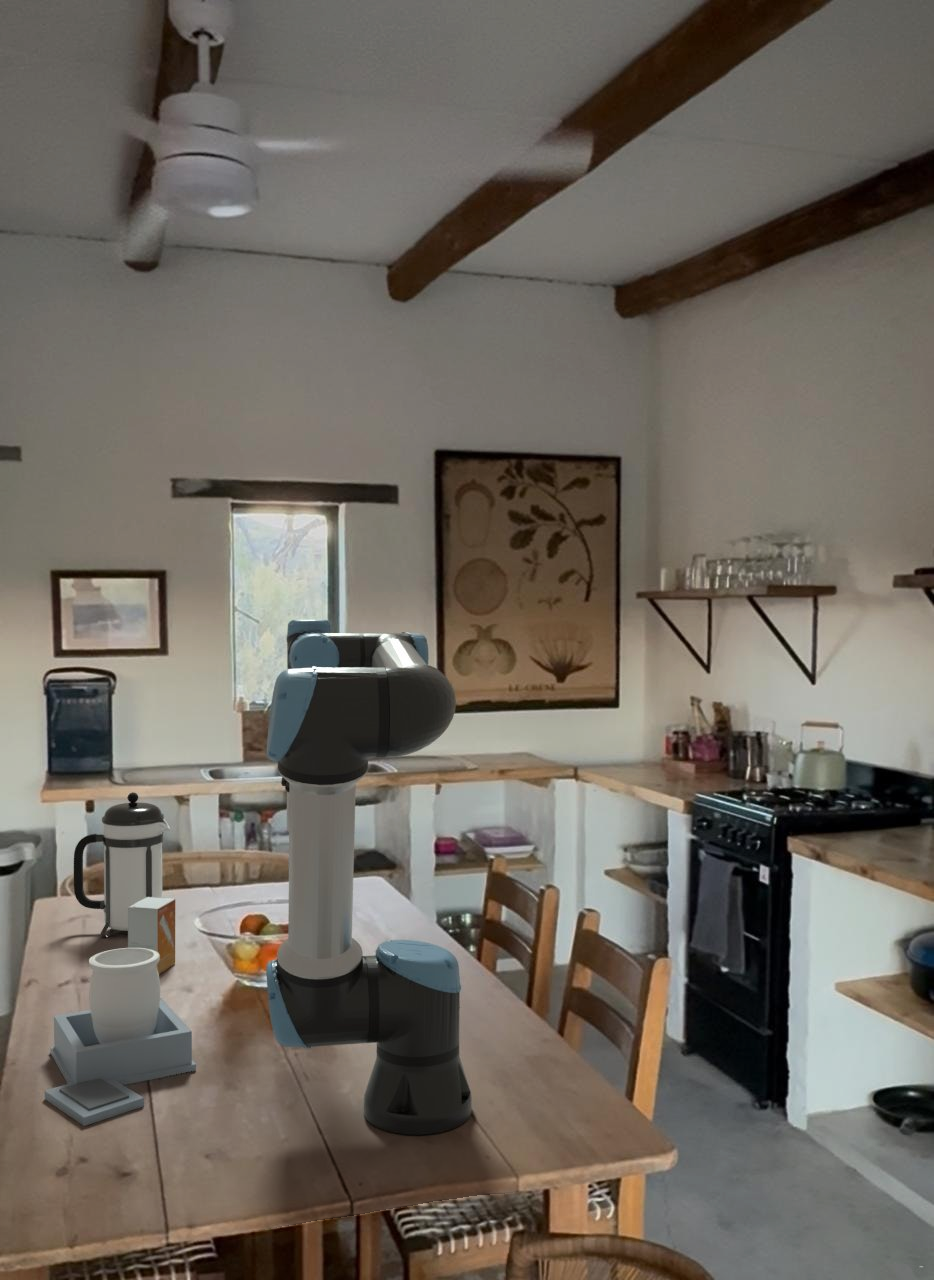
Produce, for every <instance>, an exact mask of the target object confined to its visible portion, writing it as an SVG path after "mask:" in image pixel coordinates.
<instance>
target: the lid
mask: <svg viewBox="0 0 934 1280" xmlns="http://www.w3.org/2000/svg"><path fill="white" fill-rule="evenodd" d="M44 1100H45V1101H47V1102H48V1103H50V1104H51V1105H53V1106H54V1107H56V1108H57V1109H58V1110H60V1111H62V1112H63V1113H64V1114H66V1115H68V1117H70V1118H72V1119H73V1120H75V1121H76V1122H77V1123H79V1124H80V1125H82V1126H83V1127H86V1126H88V1125H91V1124H95V1123H97V1122H101V1121H104V1120H107V1119H109V1118H113V1117H116V1116H119V1115H122V1114H125V1113H128V1112H130V1111H134V1110H136V1109H140V1108H142V1107H145V1098H144V1096H141V1094H138V1093H137V1092H135V1091H133V1090H132V1089H130V1088H128V1087H127V1086H126V1085H122V1084H120V1083H118V1082H117V1081H115V1080H113V1079H112V1078H110V1079H105V1080H103V1079H101V1078H99V1079H94V1080H89V1081H84V1082H80V1083H77V1084H76V1083H75V1082H72V1083H69V1084H67V1083H66V1084H62V1085H60V1086H57V1087H53V1088H50V1089H46V1090H44Z"/></svg>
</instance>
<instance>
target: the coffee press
mask: <svg viewBox="0 0 934 1280" xmlns="http://www.w3.org/2000/svg"><path fill="white" fill-rule="evenodd" d="M127 801H128V802H124V803H119V804H115V805H112V806H110V807H109V808H107V809H106V811H105V813H104V816H102V817H101V822H102V825H103V834H97V833H90V834H87V835H86V836H84V837H82V838H80V839H79V841H78V843H77V844H76V846H75V849H74V851H73V852H74V853H73V891H74V896H75V899H76V900H77V901H78V903H79V904H80V905H81V906H82V907H84V908H88V909H93V910H102V911H103V912H104V923H105V924H104V926H103V928H102V930H101V932H100V935H101V937H102V936H103V937H102V938H105V935H107V936H110V937H111V935H113V933H114V932H116V931H122V932H123V931H124V932H125V931H126V932H128V907H130V906H132V905H133V904H135V903H136V902H138V901H141V900H143V899H144V898H146V897H156V898H163V842H164V832H163V831H166V830H167V831H169V830H170V829H171V827H170V825H169V824H168V822H167V821H166V819H165V818H164V817H165V816H164V814H163V813H162V811H161V809H160V807H159V806H157V805H156V804H152V803H149V802H148V803H147V802H137V801H139V794H138V793H136V792H131V793H129V794H128V796H127ZM93 843H102V844H103V882H104V883H103V885H104V886H103V891H104V893H103V894H104V895H103V897H104V898H103V900H95V899H94V900H93V899H90V898H88V897H87V896H86V894H85V891H84V851H85V849H86V847H87V845H89V844H93ZM109 928H110V930H109V931H108V929H109ZM107 931H108V932H107Z"/></svg>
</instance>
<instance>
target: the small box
mask: <svg viewBox="0 0 934 1280" xmlns="http://www.w3.org/2000/svg"><path fill="white" fill-rule="evenodd" d="M127 948H146V949H151V950H155V951H157V952H158V953H159V956H160V960H159V962H158V964H157V965H156V967H157V970H158V974H159V975H161V974H162V973H163V972H165V971H166V970H168V969H169V968H171V967H172V966H174V965H175V964H176V898H169V897H168V898H167V897H162V898H156V897H146V898H144V899H143V900H141V901H138V902H136V903H135V904H133V905H132V906H130V907H128V931H127ZM173 964H174V965H173Z"/></svg>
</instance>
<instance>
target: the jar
mask: <svg viewBox="0 0 934 1280" xmlns="http://www.w3.org/2000/svg"><path fill="white" fill-rule="evenodd" d="M159 960H160V956H159V953H158V952H157V951H155V950H151V949H146V948H128V947H124V948H115V949H114V948H113V949H109V950H105V951H101V952H98V953H96V954H94V955H92V956H91V957H90V958H89V960H88V964H89V966H88V967H89V968H90V970H92V974H91V977H90V982H89V991H88V992H89V993H88V995H89V996H88V997H89V998H88V1000H89V1010H90V1011H91V1016H92V1021H93V1028H94V1032H95V1035H96V1037H97V1039H98V1041H99V1043H100V1044H104V1043H110V1042H115V1041H121V1040H126V1039H132V1038H137V1037H143V1036H148V1035H153V1033H154V1030H155V1027H156V1023H157V1016H158V1009H159V1004H160V998H161V980H160V974H158V970H157V967H156V965H157V964H158V962H159Z"/></svg>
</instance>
